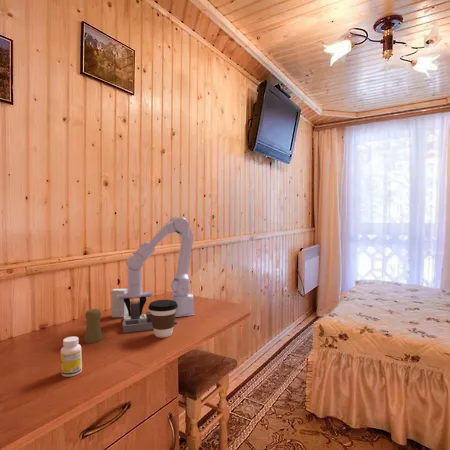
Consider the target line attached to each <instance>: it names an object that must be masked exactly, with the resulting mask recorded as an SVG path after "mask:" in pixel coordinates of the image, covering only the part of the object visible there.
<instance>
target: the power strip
mask: <svg viewBox="0 0 450 450" xmlns="http://www.w3.org/2000/svg"><path fill="white" fill-rule="evenodd" d="M145 313H146V314H145V315H146V318H142V319H133V320H124V319H123V320H122V332H123V334H126V333H127V334H128V333H134V332H143V331H150V330H154V329H153V326H152V320H151V314H150V313H151V311H146V312H145ZM177 324H178V321H177V320H175V321H174V325H177Z"/></svg>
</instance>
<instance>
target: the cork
mask: <svg viewBox="0 0 450 450" xmlns="http://www.w3.org/2000/svg"><path fill="white" fill-rule="evenodd" d="M101 312H102V311H101V310H100V309H98V308H92V309H88V310H86V311H85V316H84V317H85V319H86V326H85V331H84V332H85V334H84V341H83V342H84V343H86V344H96V343H99V342H102V341H103V334H102V328H101V321H100V318H101V316H102V315H101Z"/></svg>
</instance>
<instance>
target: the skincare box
mask: <svg viewBox="0 0 450 450" xmlns="http://www.w3.org/2000/svg"><path fill="white" fill-rule="evenodd" d="M126 293H128V288H113V289H111V290H110V295H111V296H110V299H111V301H110V304H111V312H110V313H111V318H124V316H129V313H128V309H127V307H126V305H125V303H124V299H122V300H117V295H120V294H126Z"/></svg>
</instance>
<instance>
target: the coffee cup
mask: <svg viewBox="0 0 450 450" xmlns="http://www.w3.org/2000/svg"><path fill="white" fill-rule="evenodd" d="M176 308H178V304H177V302H176V301H173V300H172V299H156V300H153V301H151V302H150V303H149V305H148V309H149V312H151V313H150V314H151V320H152V326H153V329H152V330H153V332H154V333H153V334H154V335H155V337H157V338H160V339H161V338H168V337H170V336H172V334H173V330H174V327H175V324H174V321H176V320H175V319H176V317H175V314H176Z"/></svg>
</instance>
